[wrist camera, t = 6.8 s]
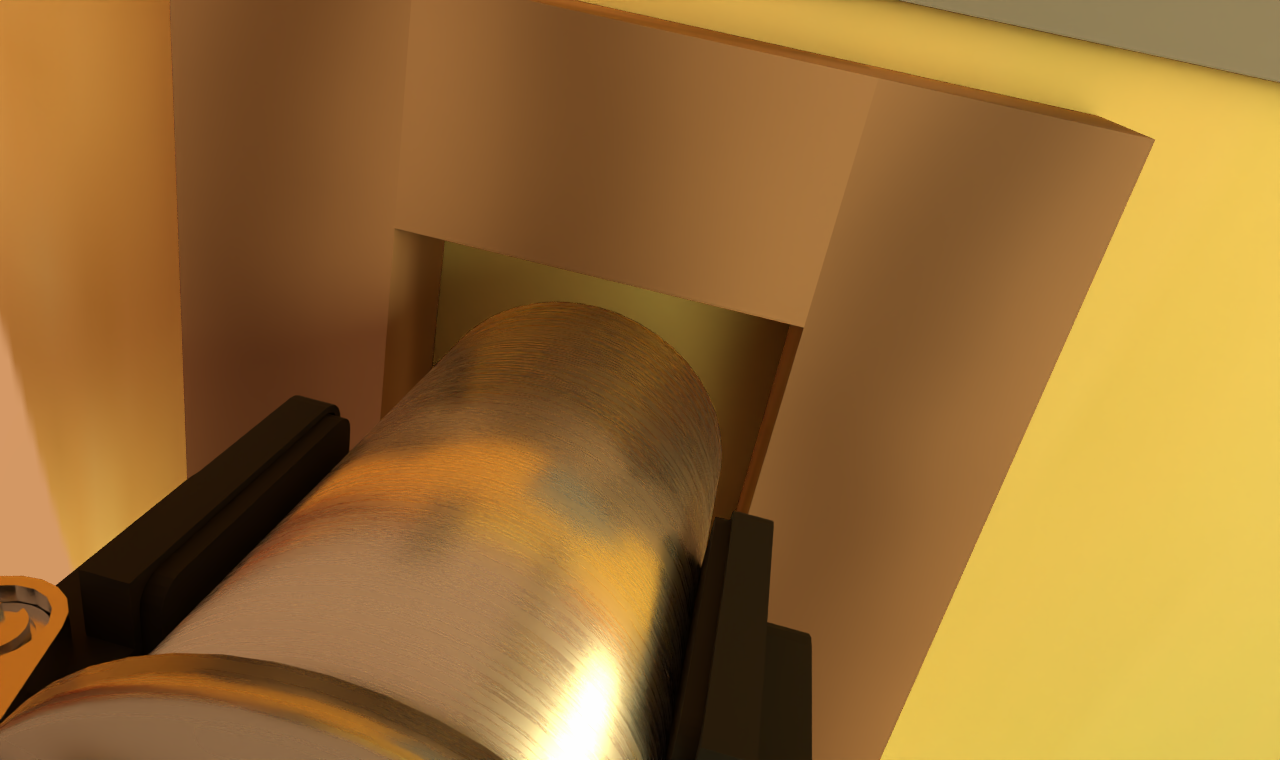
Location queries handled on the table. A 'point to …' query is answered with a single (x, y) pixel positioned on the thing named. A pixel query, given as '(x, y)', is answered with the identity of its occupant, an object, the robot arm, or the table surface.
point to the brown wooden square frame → (656, 258)
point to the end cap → (447, 577)
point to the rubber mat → (1152, 27)
